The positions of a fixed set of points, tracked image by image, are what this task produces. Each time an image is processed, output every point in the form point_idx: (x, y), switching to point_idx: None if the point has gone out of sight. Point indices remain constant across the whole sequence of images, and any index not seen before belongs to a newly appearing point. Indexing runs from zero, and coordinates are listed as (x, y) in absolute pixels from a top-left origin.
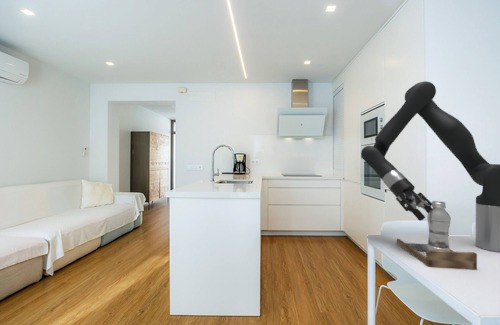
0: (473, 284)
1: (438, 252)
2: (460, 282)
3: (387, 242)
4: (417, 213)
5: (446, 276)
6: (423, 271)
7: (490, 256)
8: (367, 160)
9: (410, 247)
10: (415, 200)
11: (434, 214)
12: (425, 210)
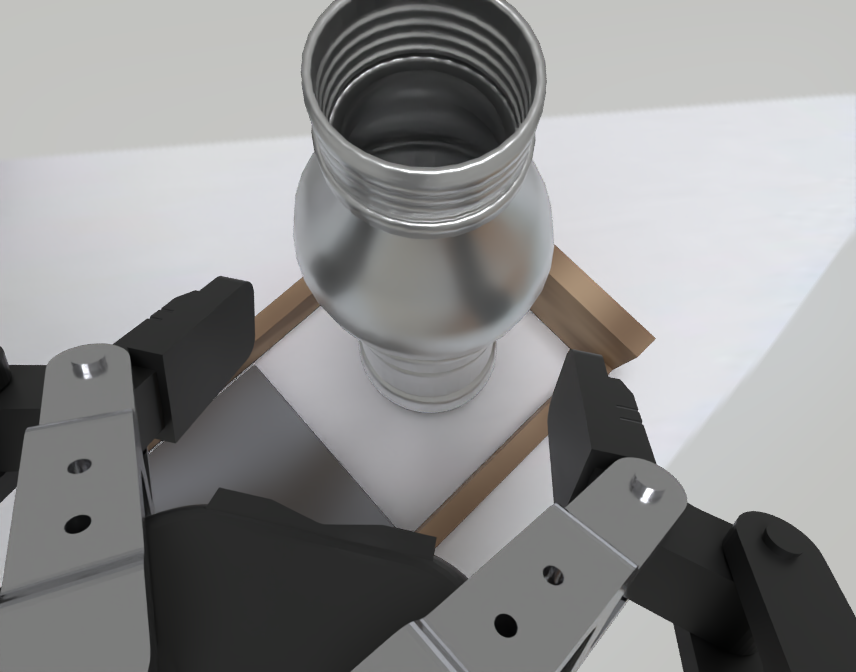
0: (660, 172)
1: (604, 292)
2: (689, 211)
3: None
4: (642, 432)
5: (672, 266)
6: (712, 360)
7: (118, 169)
8: None
9: (446, 522)
10: (377, 589)
11: (546, 226)
12: (180, 437)
